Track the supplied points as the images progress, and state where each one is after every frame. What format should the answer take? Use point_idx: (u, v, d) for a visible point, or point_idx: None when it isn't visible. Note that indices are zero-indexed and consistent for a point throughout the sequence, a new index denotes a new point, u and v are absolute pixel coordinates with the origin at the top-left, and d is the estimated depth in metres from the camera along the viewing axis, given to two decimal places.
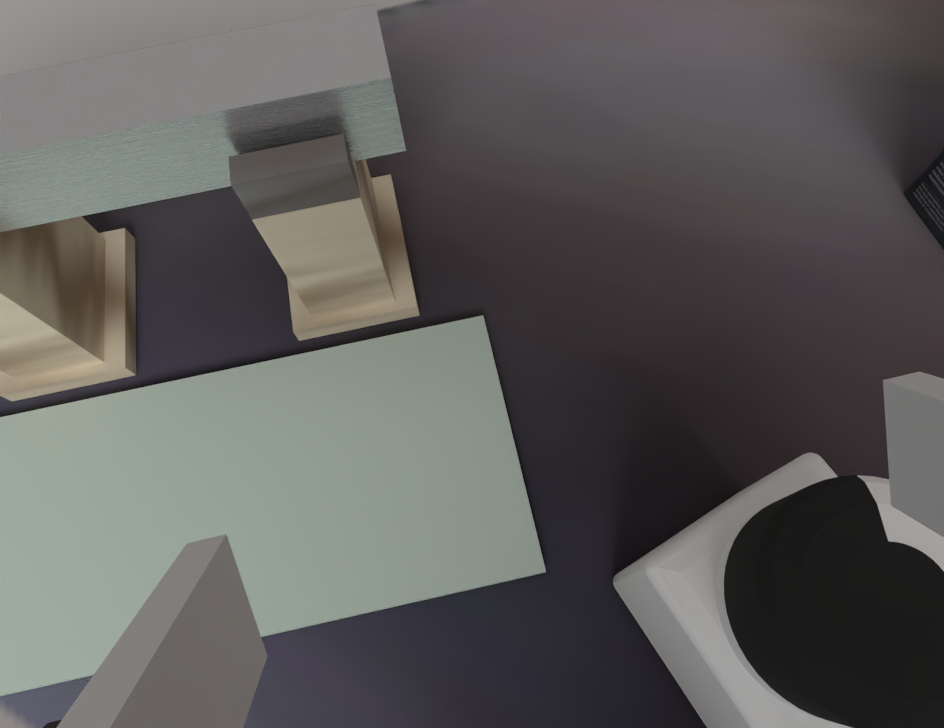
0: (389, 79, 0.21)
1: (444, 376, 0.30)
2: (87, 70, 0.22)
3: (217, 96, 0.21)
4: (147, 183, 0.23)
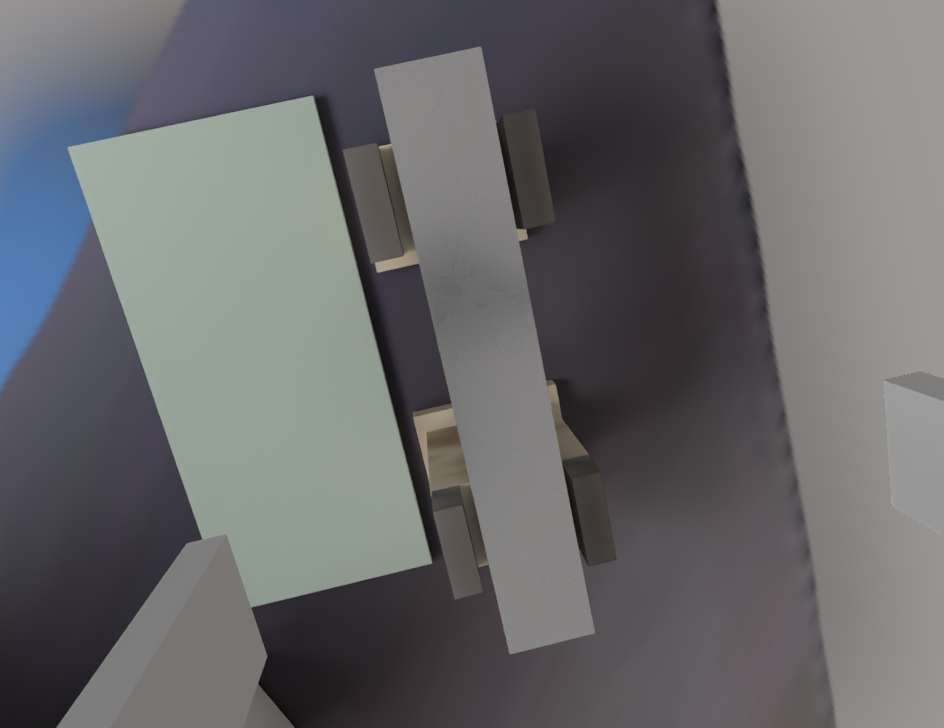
0: (509, 651, 0.26)
1: (376, 537, 0.37)
2: (535, 401, 0.23)
3: (496, 522, 0.24)
4: None
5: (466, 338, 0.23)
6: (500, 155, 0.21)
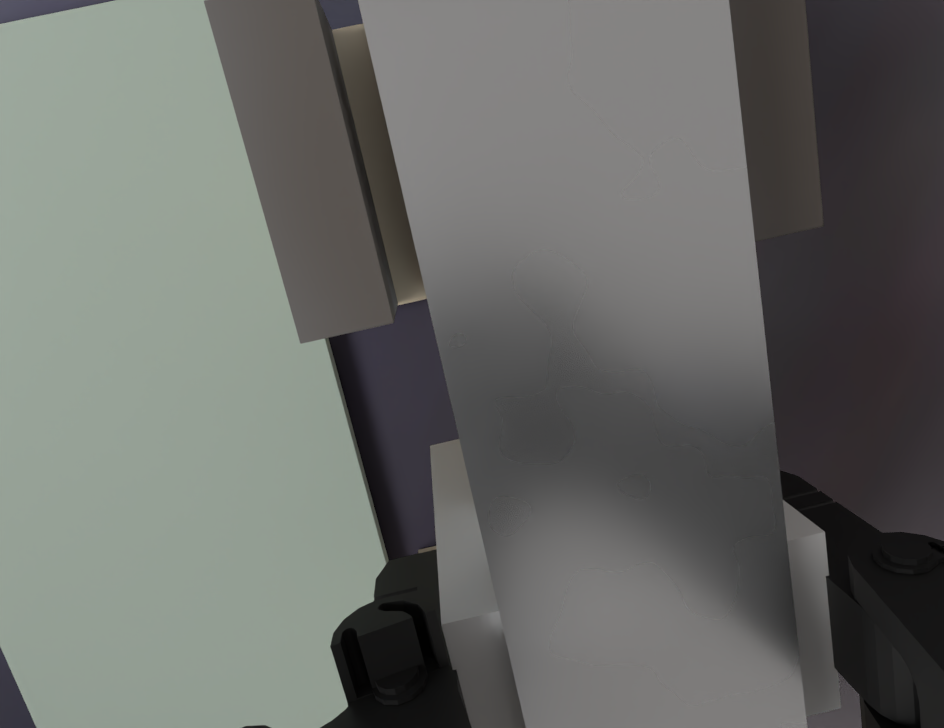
0: None
1: None
2: None
3: None
4: None
5: (582, 578, 0.07)
6: None
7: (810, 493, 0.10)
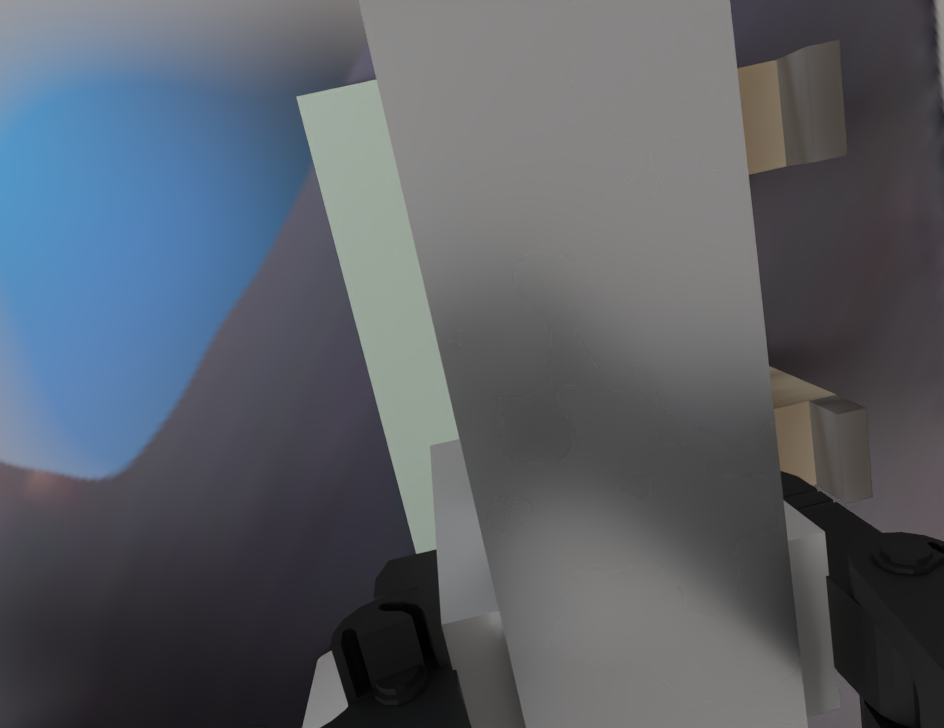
0: None
1: None
2: None
3: None
4: None
5: (582, 577, 0.07)
6: None
7: (810, 493, 0.10)
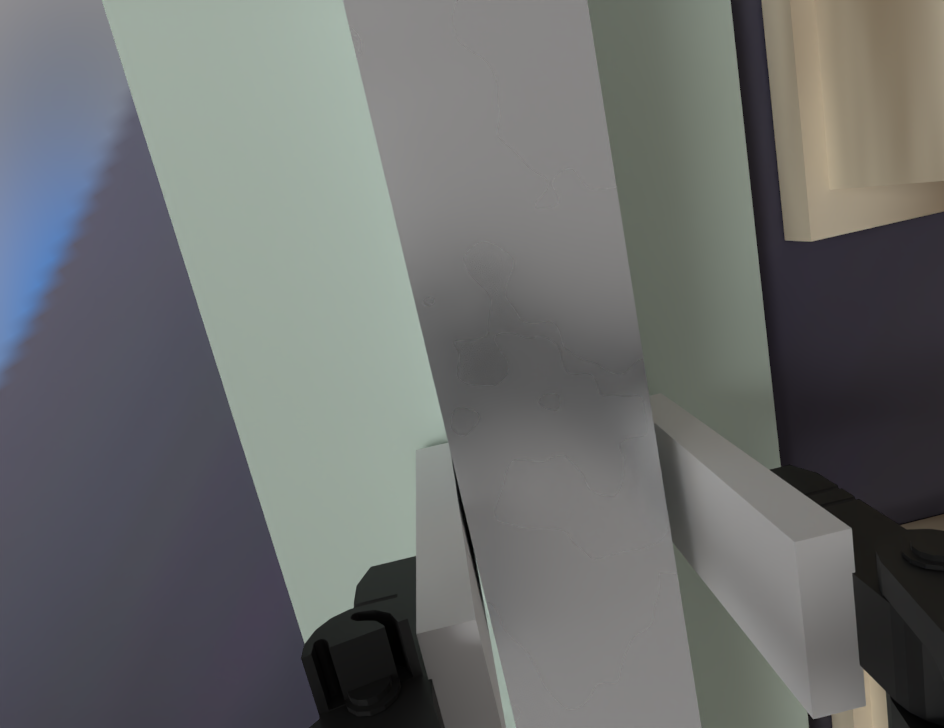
0: None
1: None
2: (649, 582, 0.12)
3: None
4: None
5: (515, 465, 0.11)
6: (596, 79, 0.10)
7: (831, 490, 0.10)
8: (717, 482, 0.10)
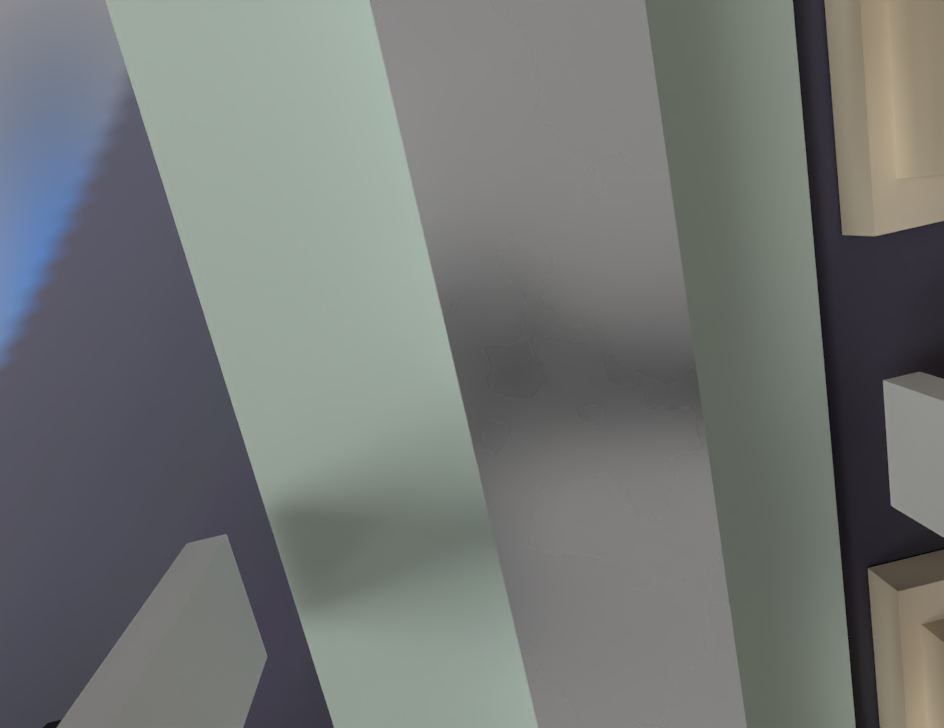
0: None
1: None
2: (698, 614, 0.11)
3: None
4: (509, 605, 0.13)
5: (552, 486, 0.10)
6: (647, 49, 0.09)
7: None
8: None
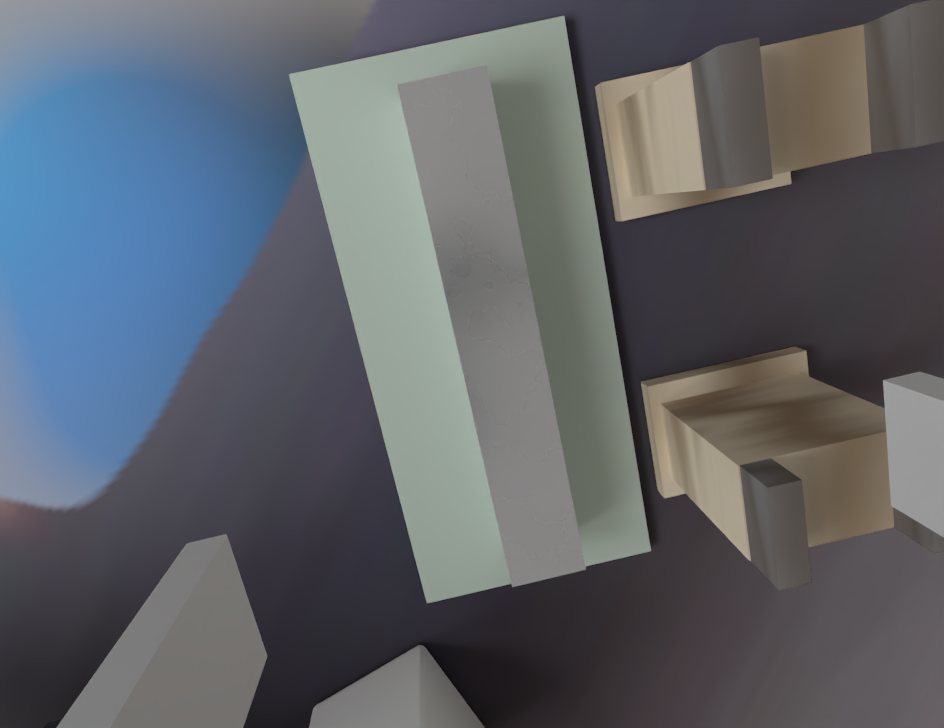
0: None
1: (593, 521, 0.33)
2: (533, 366, 0.27)
3: (500, 471, 0.28)
4: None
5: (474, 312, 0.27)
6: (503, 156, 0.25)
7: None
8: None
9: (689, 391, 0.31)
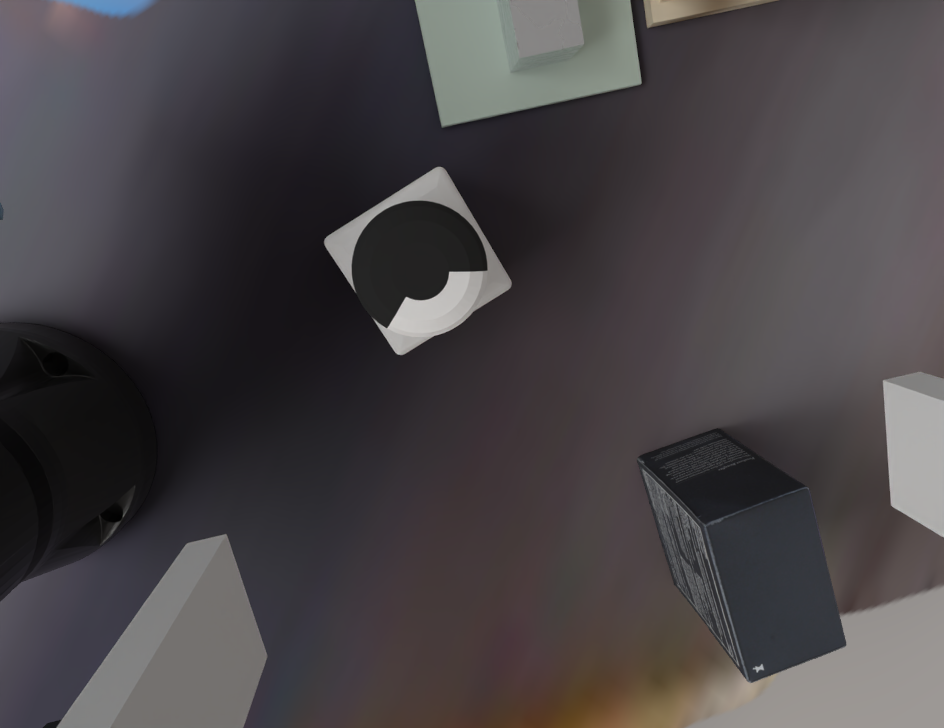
0: (519, 57, 0.34)
1: (590, 49, 0.37)
2: None
3: None
4: None
5: None
6: None
7: None
8: None
9: None
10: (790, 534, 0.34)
